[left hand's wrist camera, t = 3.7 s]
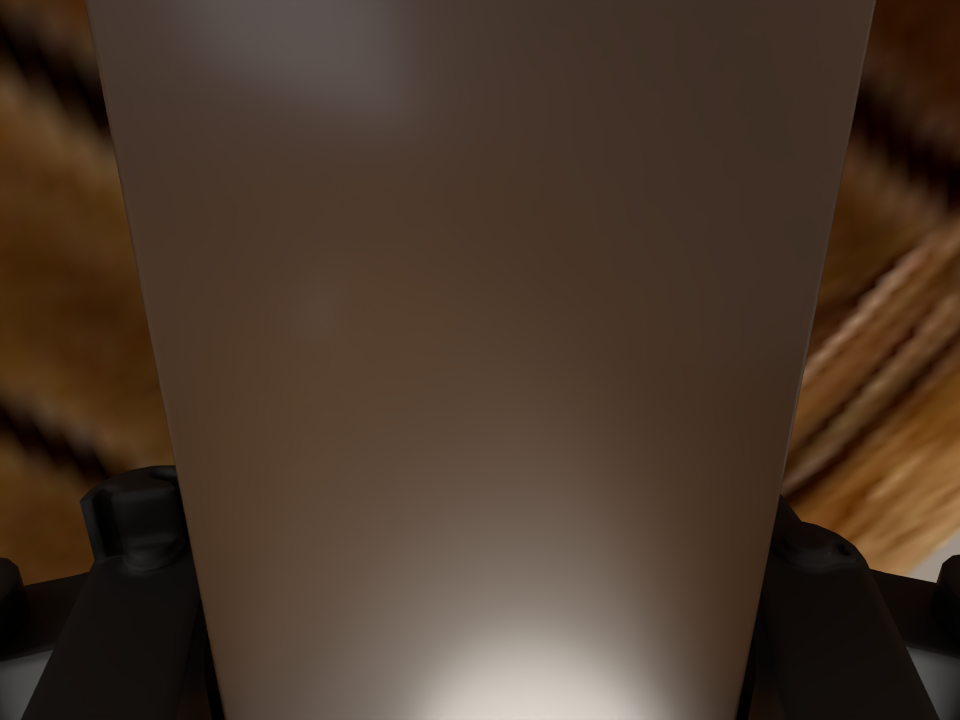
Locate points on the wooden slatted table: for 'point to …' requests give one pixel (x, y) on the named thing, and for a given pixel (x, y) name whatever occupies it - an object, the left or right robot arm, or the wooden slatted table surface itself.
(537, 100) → the bar
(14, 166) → the wooden slatted table surface
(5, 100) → the wooden slatted table surface
